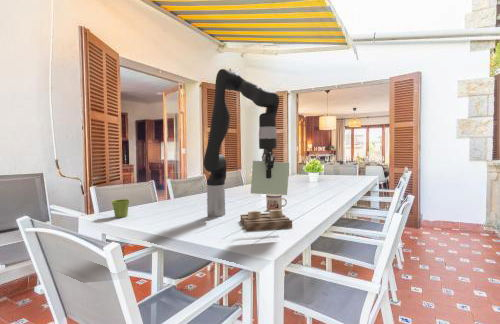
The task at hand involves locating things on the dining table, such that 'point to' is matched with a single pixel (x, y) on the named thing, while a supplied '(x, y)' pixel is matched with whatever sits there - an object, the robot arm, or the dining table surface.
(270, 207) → the teacup with lid
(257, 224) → the rack
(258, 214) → the offcut left
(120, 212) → the plant pot
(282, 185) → the panel
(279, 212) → the offcut right
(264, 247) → the dining table surface
